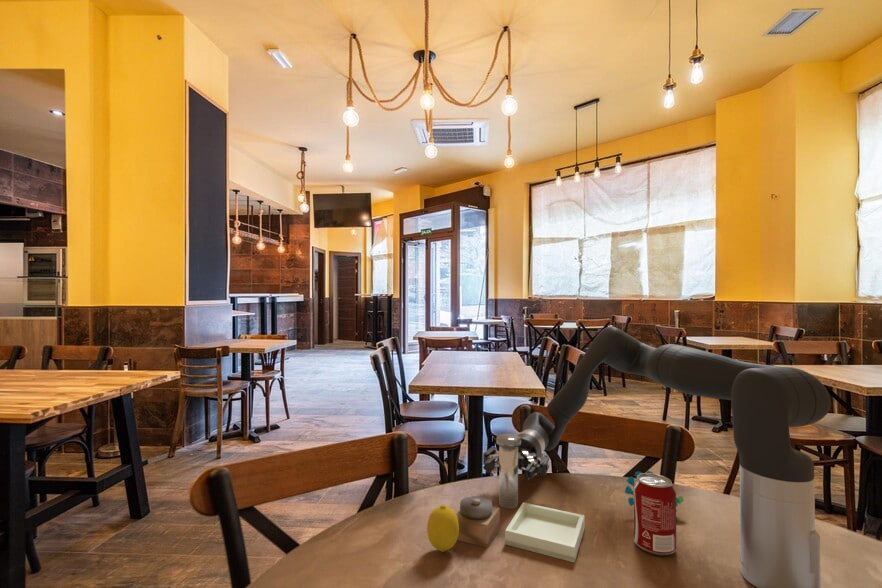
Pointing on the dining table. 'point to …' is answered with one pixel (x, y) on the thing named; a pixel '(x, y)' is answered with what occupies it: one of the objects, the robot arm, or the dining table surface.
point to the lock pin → (508, 470)
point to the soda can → (655, 514)
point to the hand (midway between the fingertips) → (506, 471)
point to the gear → (629, 491)
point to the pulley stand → (477, 521)
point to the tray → (546, 531)
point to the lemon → (443, 528)
